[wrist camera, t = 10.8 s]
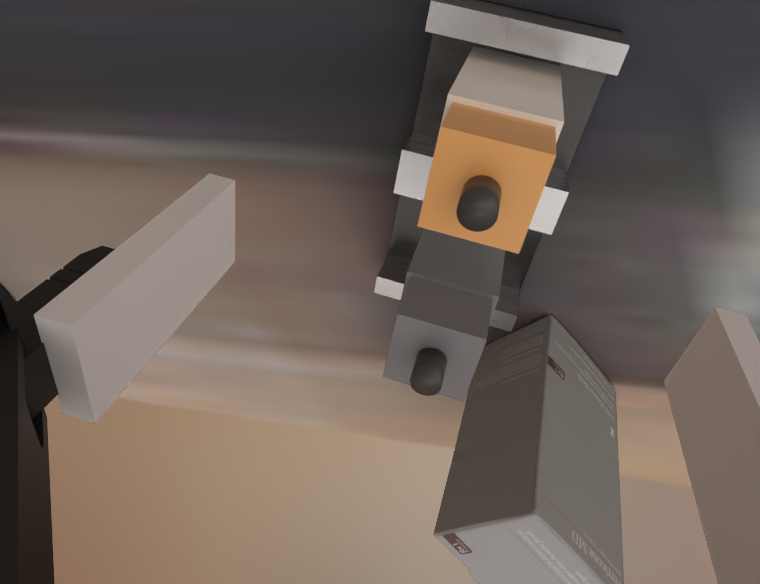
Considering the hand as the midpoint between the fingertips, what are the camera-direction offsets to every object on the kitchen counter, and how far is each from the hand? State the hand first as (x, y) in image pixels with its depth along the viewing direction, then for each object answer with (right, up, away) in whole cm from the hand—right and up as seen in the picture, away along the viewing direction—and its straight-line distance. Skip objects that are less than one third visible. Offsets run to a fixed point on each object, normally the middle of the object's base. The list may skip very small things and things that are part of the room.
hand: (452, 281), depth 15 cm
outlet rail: (+4, +7, +17) cm, 19 cm away
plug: (+5, +10, +14) cm, 18 cm away
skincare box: (+10, -6, +25) cm, 27 cm away
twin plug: (+3, +3, +19) cm, 20 cm away
